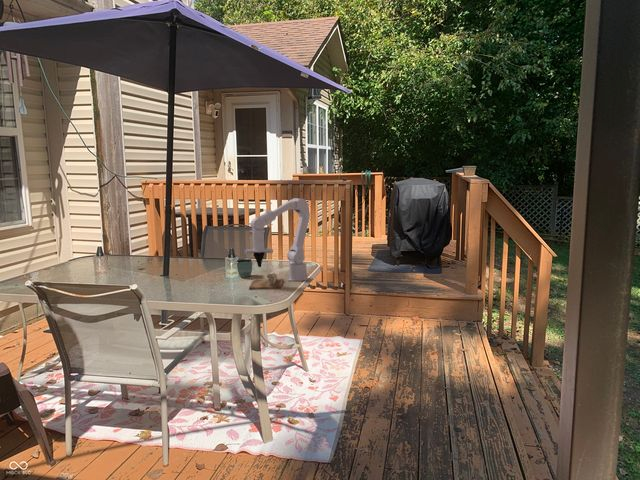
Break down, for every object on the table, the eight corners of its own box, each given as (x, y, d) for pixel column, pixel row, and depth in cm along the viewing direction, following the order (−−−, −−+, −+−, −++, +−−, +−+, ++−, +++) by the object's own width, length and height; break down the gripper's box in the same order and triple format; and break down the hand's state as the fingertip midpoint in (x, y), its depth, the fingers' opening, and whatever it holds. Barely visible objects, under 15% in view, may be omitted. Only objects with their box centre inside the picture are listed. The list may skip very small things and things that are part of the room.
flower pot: (237, 278, 278) (236, 262, 277) (236, 275, 286) (236, 259, 285) (253, 277, 280) (252, 261, 278) (252, 274, 288) (251, 258, 287)
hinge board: (283, 280, 269) (282, 269, 268) (280, 288, 251) (280, 276, 250) (253, 281, 269) (253, 270, 268) (249, 289, 251) (248, 277, 250)
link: (270, 279, 268) (270, 272, 267) (277, 278, 268) (277, 271, 267) (267, 284, 256) (266, 277, 256) (275, 284, 256) (274, 276, 255)
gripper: (243, 242, 254) (244, 268, 256) (271, 241, 254) (272, 267, 256) (245, 240, 261) (246, 266, 263) (272, 239, 261) (274, 265, 263)
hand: (259, 266), depth 260 cm, fingers closed
